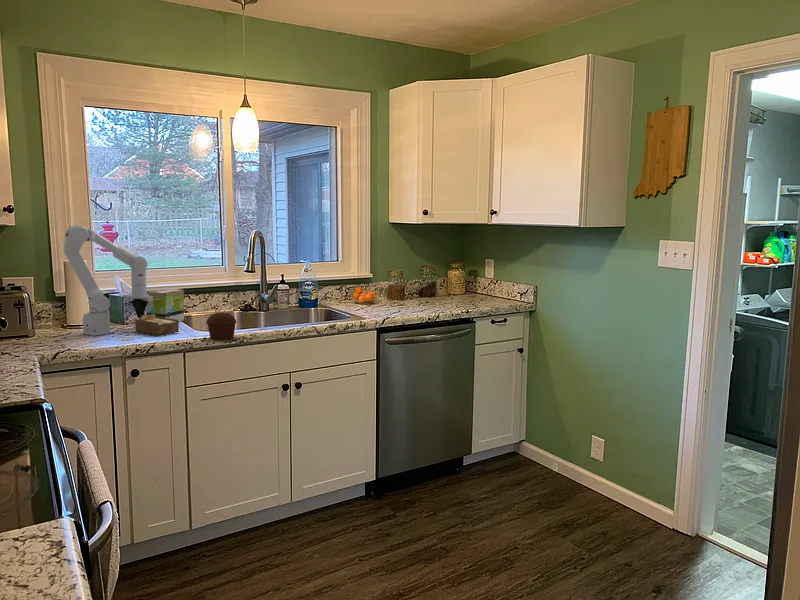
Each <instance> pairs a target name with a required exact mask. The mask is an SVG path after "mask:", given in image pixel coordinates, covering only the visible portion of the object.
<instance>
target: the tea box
mask: <svg viewBox="0 0 800 600" xmlns="http://www.w3.org/2000/svg"><path fill="white" fill-rule="evenodd" d="M184 290H185V289H179V288H178V289H176V288H175V289H174V288H173V289H172V288H164V289H163V288H162V289H156V290H150V291H147V295H149V296H152V297H153V301H149V302H148V304H147V306H146V308H145V311H146V315H155V317H163V318H170V319H176V320H178V321H179V322H184V320H185V310H184V309H185V291H184ZM146 315H145V316H146Z"/></svg>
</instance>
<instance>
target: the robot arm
mask: <svg viewBox="0 0 800 600" xmlns="http://www.w3.org/2000/svg"><path fill="white" fill-rule="evenodd" d="M85 242H92V243H95V244H97V245H98V246H100V247H102V248H104V249H107V250H108V251H110V252H111V253H112V255H113V257H114V258H115V259H117V260H118V261H120V262H121V263H124V264H125V265H127V266H128V267H130V269H131V270H130V271H131V274H130V275H131V276H130V277H131V293H127V294H126V300H130V304H131V305H132V306H133V307H132V308H133V309H134V311H135V314H136V318H141V316H145V311H146V306H147V304H148V302H149V301H153V297H152V296H149V295H147V292H148V291H147V290H148V289H147V271H146V269H147V268H148V266H149V265H148V264H149V263H148V261H147V259H146V258H145V257H143V256H139V253H138V252H134V251H132V250H131V249H129V247H128V246H127V245H123V244H119V245H116V244H115V243H113V242H111V241H110V240H108V239H107V238H106V237H104V236H102V235H101V234H99V233H98V232H96V231H94V230H92V229H90V228H87V227H86V226H83V225H72V226H69V227H68V229H67V230H66V232H65V234H64V246H63V252H64V255H65V256H66V258H67V260H68V261H69V264H70V266H71V267H72V269H73V272H74V273H75V274H76V276H77V279H78V280H79V282H80V283H81V285H82V287H83V289H84V290H85V295H86V297H87V299H88V305H89V307H90V309H89V312H87V313H84V314H83V316H82V333H81V334H83V335H88V336H92V337H93V336H94V337H95V336H100V335H101V336H102V335H108V333H109V334H114V333H113V332H115V333H116V331H114V330H111V320H110V319H111V317H110V309H109V308H110V306H111V301H110V300H109V298H108V297H106V296H105V294H103V292H102V290H101V289H100V288H99V286H98V284H97V283H96V280H95V279H94V276H92V275H93V274H92V273H91V271H90V269H89V268H88V266H87V265H86V263H85V261H84V259H83V257H82V254H81V253H80V251H81V248H82V246H83V244H84V243H85Z"/></svg>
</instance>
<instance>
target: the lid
mask: <svg viewBox="0 0 800 600" xmlns="http://www.w3.org/2000/svg"><path fill="white" fill-rule="evenodd" d="M140 320H144V321H150V322H157V323H159V326H160V325H166V324H173V323H177V321H170V320H163V319H157V318H155V315H144V316H141V317H140Z"/></svg>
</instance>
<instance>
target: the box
mask: <svg viewBox="0 0 800 600" xmlns="http://www.w3.org/2000/svg"><path fill="white" fill-rule="evenodd" d="M155 318H157V319H163V320H170V321H177V323H173V324H166V325H160V326H159V323H157V322H150V321H144V320H141V319H134V321H135V323H134V324H135V333H136V332H138V333H137V334H140V333H143V334H142V335H146V334H149V335H148V336H152V335H154V336H153V337H162V336H161V335H164V336H167V335H166V334H170V333H175V332H180V331H179V330H180V329H179V322H178V320H176V319H170V318H163V317H155ZM175 334H176V333H175ZM170 335H171V334H170Z"/></svg>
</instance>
